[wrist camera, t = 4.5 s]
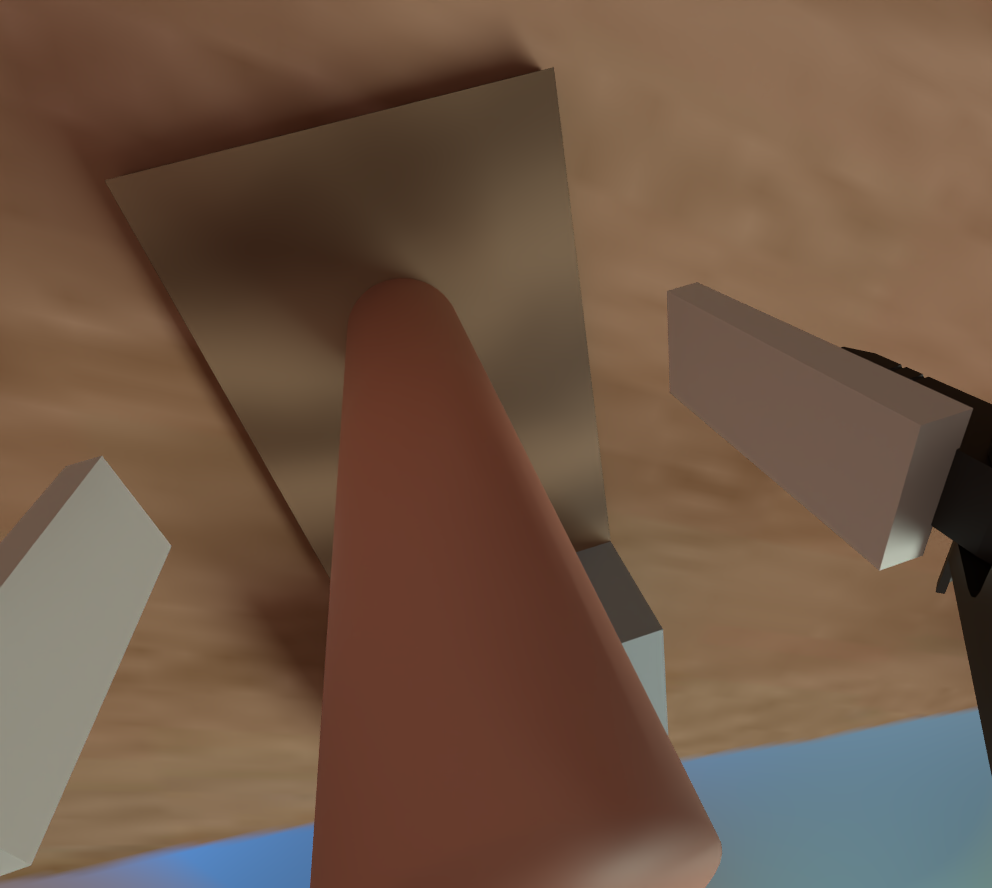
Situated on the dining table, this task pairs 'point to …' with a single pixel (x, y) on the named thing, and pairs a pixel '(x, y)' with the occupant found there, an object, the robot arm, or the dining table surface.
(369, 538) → the peg
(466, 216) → the board
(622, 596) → the socket
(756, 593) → the dining table surface
